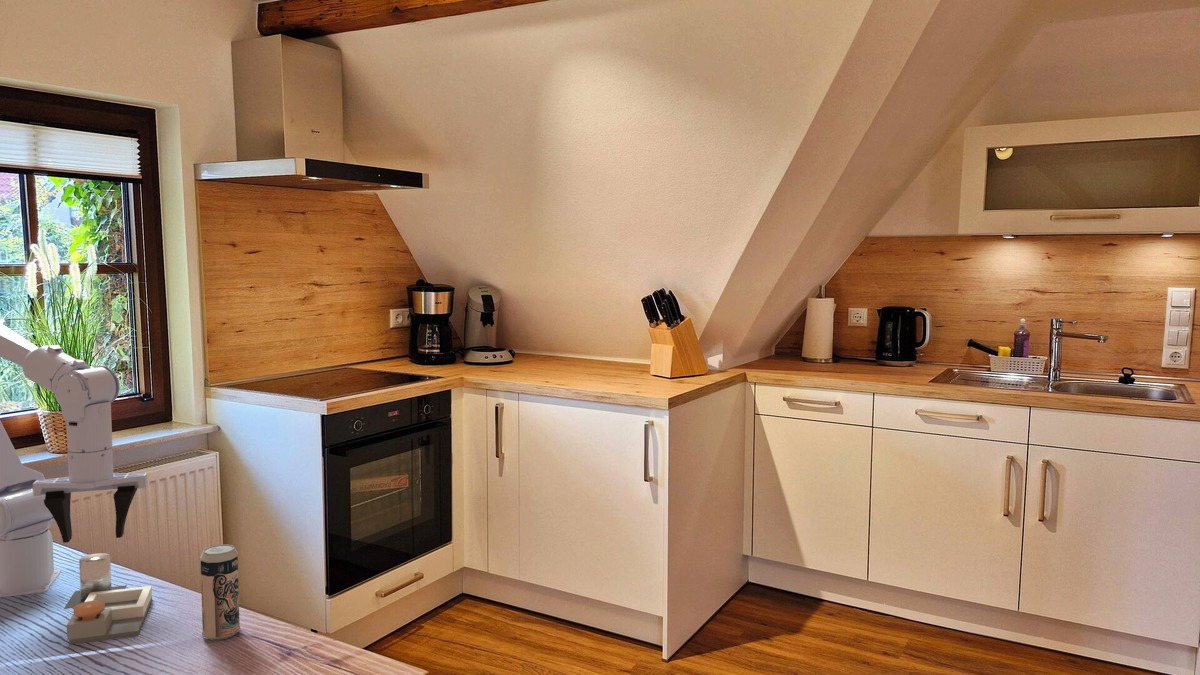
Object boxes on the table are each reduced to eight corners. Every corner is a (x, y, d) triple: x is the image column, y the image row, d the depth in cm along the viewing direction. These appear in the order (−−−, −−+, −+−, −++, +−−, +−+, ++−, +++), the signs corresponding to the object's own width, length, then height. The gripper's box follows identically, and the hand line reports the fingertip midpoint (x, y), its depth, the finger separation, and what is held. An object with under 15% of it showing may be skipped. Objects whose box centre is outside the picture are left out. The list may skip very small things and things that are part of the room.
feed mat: (75, 593, 128) (75, 590, 128) (126, 587, 131) (126, 585, 131) (63, 611, 122) (63, 608, 122) (118, 604, 124) (118, 602, 124)
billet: (84, 593, 127) (82, 554, 127) (114, 589, 129) (112, 551, 128) (78, 603, 124) (76, 563, 123) (108, 599, 125) (107, 560, 124)
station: (89, 609, 122) (88, 589, 122) (152, 601, 125) (151, 582, 125) (67, 647, 110) (66, 625, 110) (137, 638, 113) (137, 616, 113)
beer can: (225, 643, 112) (223, 556, 111) (194, 640, 113) (191, 553, 112) (247, 628, 116) (245, 544, 115) (217, 625, 117) (214, 542, 116)
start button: (77, 625, 114) (76, 602, 114) (107, 621, 115) (107, 599, 115) (71, 636, 111) (70, 612, 110) (102, 632, 112) (101, 609, 112)
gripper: (24, 458, 118) (29, 551, 119) (140, 451, 123) (144, 541, 124) (38, 447, 125) (42, 536, 126) (148, 441, 130) (151, 527, 131)
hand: (93, 538), depth 125 cm, fingers open, 6 cm apart
